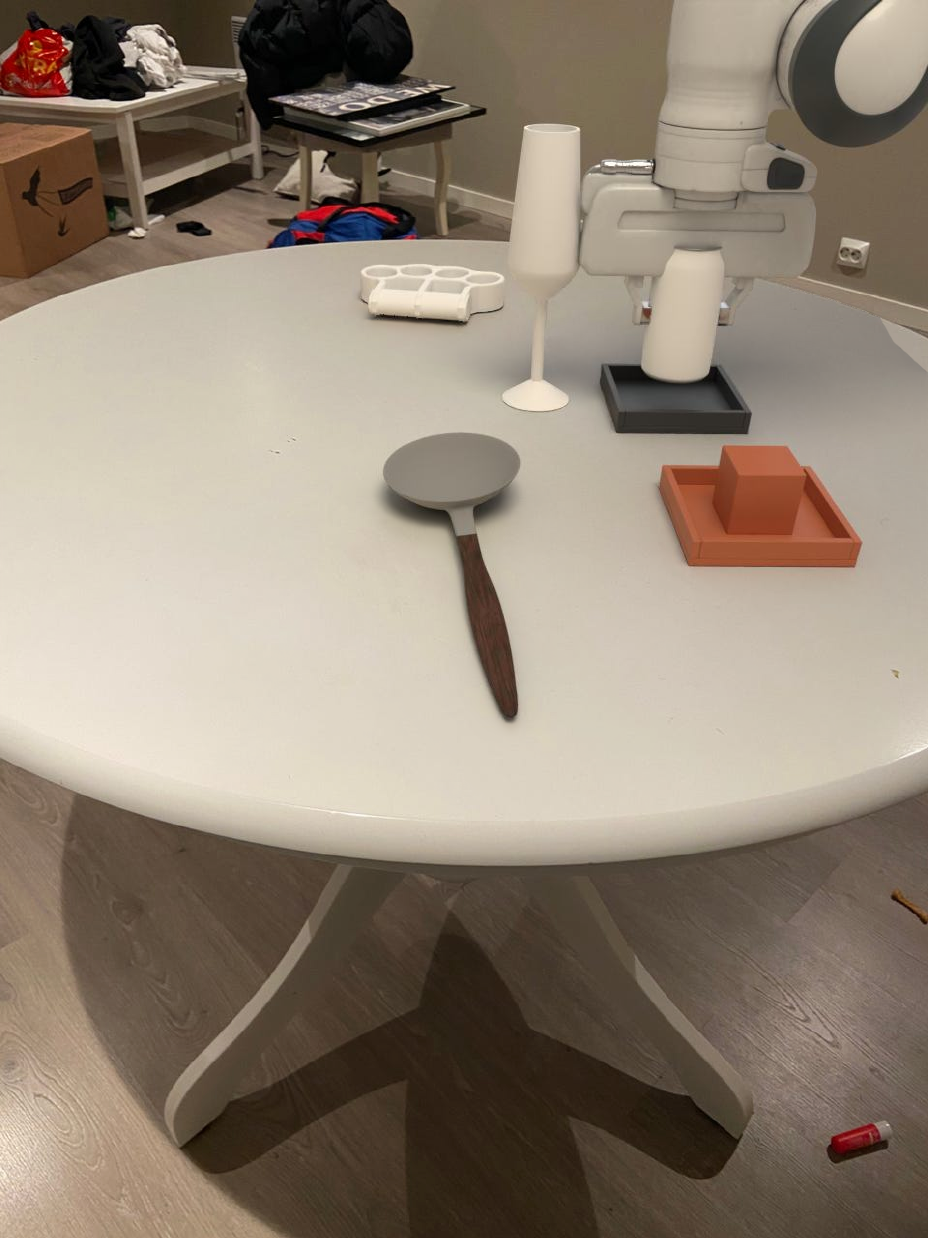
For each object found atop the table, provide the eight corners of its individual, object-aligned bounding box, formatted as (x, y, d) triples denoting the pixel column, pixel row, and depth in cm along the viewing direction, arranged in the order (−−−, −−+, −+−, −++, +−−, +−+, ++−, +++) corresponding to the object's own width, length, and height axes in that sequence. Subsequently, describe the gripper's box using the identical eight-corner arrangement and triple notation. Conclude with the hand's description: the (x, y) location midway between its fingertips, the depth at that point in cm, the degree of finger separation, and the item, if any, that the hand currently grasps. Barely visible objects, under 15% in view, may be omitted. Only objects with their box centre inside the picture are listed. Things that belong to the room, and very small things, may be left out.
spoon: (509, 456, 82) (507, 425, 80) (604, 724, 56) (605, 687, 54) (383, 472, 81) (378, 441, 79) (420, 751, 55) (415, 714, 54)
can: (665, 389, 88) (684, 253, 81) (627, 365, 92) (642, 235, 85) (722, 379, 90) (746, 246, 83) (682, 356, 95) (702, 229, 88)
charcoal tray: (717, 384, 98) (721, 364, 97) (747, 433, 88) (752, 412, 87) (599, 382, 98) (601, 363, 97) (616, 432, 88) (618, 411, 87)
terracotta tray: (804, 488, 79) (810, 465, 78) (855, 566, 69) (862, 542, 68) (658, 487, 79) (662, 464, 78) (688, 565, 69) (693, 541, 68)
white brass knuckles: (342, 318, 113) (373, 283, 125) (492, 329, 111) (509, 293, 123) (341, 290, 111) (372, 257, 123) (493, 300, 109) (511, 266, 121)
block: (774, 502, 76) (787, 445, 73) (792, 534, 72) (807, 474, 69) (711, 502, 76) (722, 444, 73) (726, 534, 72) (738, 474, 69)
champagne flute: (574, 410, 92) (598, 134, 78) (505, 411, 92) (517, 134, 78) (563, 384, 97) (584, 122, 84) (498, 385, 97) (508, 121, 83)
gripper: (587, 165, 78) (573, 334, 86) (837, 169, 78) (800, 336, 86) (579, 151, 83) (566, 311, 91) (813, 155, 83) (780, 314, 91)
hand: (682, 323), depth 88 cm, fingers closed on can, 6 cm apart
